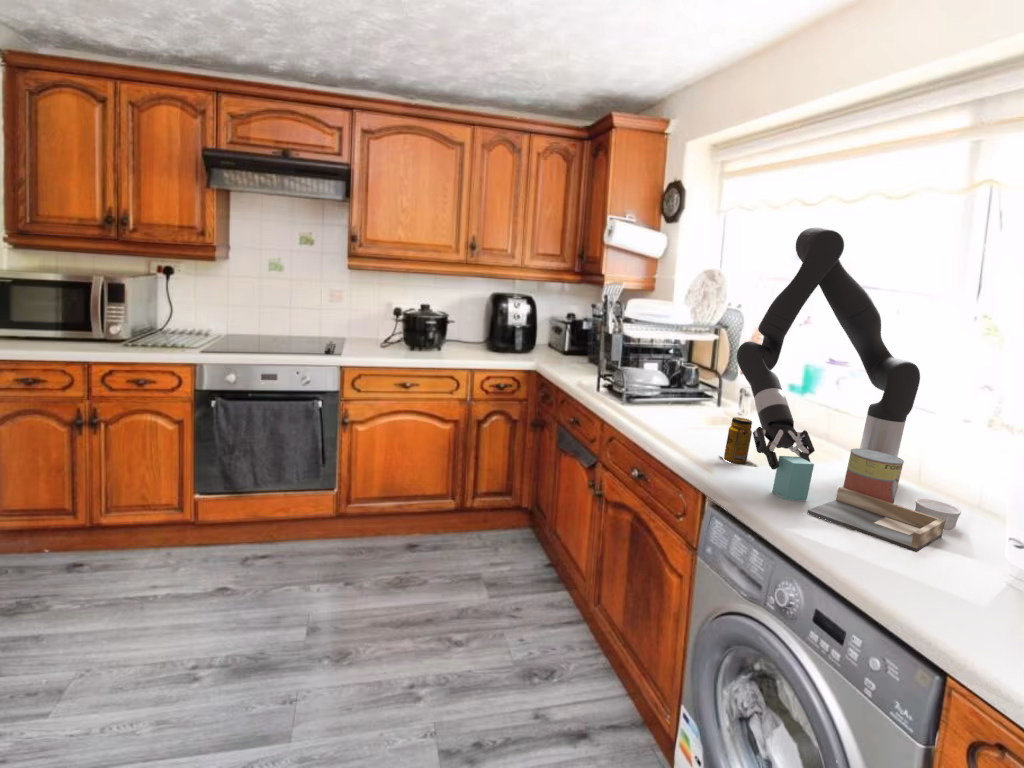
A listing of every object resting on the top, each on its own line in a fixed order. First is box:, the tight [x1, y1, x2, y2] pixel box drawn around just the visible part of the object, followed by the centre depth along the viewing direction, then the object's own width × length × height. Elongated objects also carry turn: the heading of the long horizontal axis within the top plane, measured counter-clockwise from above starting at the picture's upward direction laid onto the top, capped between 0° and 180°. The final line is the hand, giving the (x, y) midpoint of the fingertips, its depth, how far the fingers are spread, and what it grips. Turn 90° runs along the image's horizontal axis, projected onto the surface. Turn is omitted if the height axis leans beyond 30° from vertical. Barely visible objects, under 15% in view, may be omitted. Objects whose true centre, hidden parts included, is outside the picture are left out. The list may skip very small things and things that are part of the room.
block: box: [772, 455, 815, 501], centre depth 158 cm, size 6×6×9 cm
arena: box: [806, 486, 946, 553], centre depth 145 cm, size 16×22×4 cm
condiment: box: [723, 416, 759, 467], centre depth 184 cm, size 7×8×12 cm
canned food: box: [842, 448, 905, 504], centre depth 159 cm, size 11×11×12 cm
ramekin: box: [915, 498, 962, 531], centre depth 151 cm, size 9×9×4 cm
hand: (791, 469), depth 159 cm, fingers open, 8 cm apart
